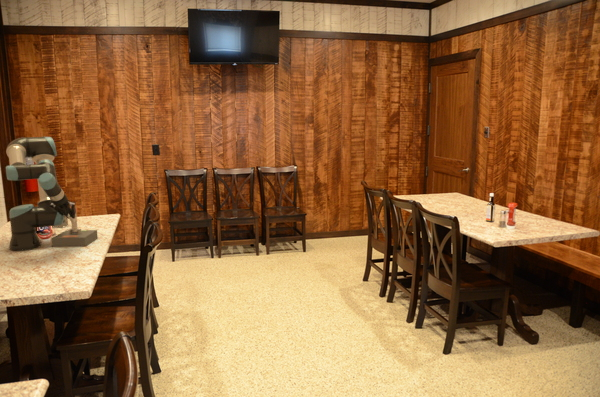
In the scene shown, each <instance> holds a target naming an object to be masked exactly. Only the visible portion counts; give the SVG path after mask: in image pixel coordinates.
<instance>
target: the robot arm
mask: <svg viewBox="0 0 600 397" xmlns="http://www.w3.org/2000/svg"><path fill="white" fill-rule="evenodd" d="M5 152H6V155H7V157H8V159H9V160H8V161H9V165H6V166H5V174H6V179H7V181H24V180H25V181H26V180H37V186H38V187H37V188H38V195H39V200H38V201H37V206H34V204H32V203H29V204H21V205H17V206H14V207H12V208H10V210H9V218H8V219H9V221H10V230H11V231H10V232H11V236H10V240H9V246H8V248H9V250H10V251H13V252H14V251H15V252H19V251H20V252H22V251H28V250H33V249H37V248H40V247H41V246H42V244H41V243H42V242H41V239H40V237H39V236H38V234H37V233H38V232H36V227H43V228H44V227H51V226H55V225H61V224H62V223H63V219H64V215H65V216H66V217H67V219H68V220H69V221H70V222H72V223H75V220H76V218H75V214H76V215H77V212H76V208H77V207H76V206H75V204H76V202H75V201H73V202H71V201H70V200H69V199H68V196H67V195H66V193H65V192H64V190H63V189H62V187H61V186H60V184H59V182H58V178H57V172H56V167H55V166H56V165H55V163H54V162H53V161H54V160H55V157H57V156H58V154H57V153H58V152H57V147H56V143H55V140H54V139H53V137H51V136H38V137H37V136H34V137H33V136H31V137H30V136H29V137H27V136H25V137H24V136H23V137H18V138H16V139H13V140H12V141H10V142H9V143H8V145H7V146H6V150H5ZM26 158H31V161H32V162H33V163H35V164H27V160H26Z"/></svg>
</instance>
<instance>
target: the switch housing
mask: <svg viewBox="0 0 600 397" xmlns="http://www.w3.org/2000/svg"><path fill="white" fill-rule="evenodd" d="M71 229H72V228H70V229H67V230H64V231H63V232H61V233H59V234H57V235H55V236H53V237H51V244H52V245H51V246H52V248H61V247H62V248H63V247H64V248H65V247H67V248H69V247H87V246H88V245H90V244H91V243H92V242H94V241H95V240H97V239H99V238H98V229H81V228H77V229H78V233H71Z"/></svg>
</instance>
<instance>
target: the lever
mask: <svg viewBox="0 0 600 397" xmlns="http://www.w3.org/2000/svg"><path fill="white" fill-rule="evenodd" d="M75 208H76V214H75V218H76V220H75V223H72V222H71V221H70V222H71V228H70V229H71V233H78V229H79V228H78V216H77V215H78V214H77V213H79V211H78V207H75Z"/></svg>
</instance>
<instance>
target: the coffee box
mask: <svg viewBox="0 0 600 397" xmlns="http://www.w3.org/2000/svg"><path fill="white" fill-rule="evenodd" d="M67 225H68V226H69V219H68V218H67V217H66V216H65V215H64V219H63V223H62V224H61V225H55V226H54V227H53V228H64V227H63V226H65V227H68V226H67Z"/></svg>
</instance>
